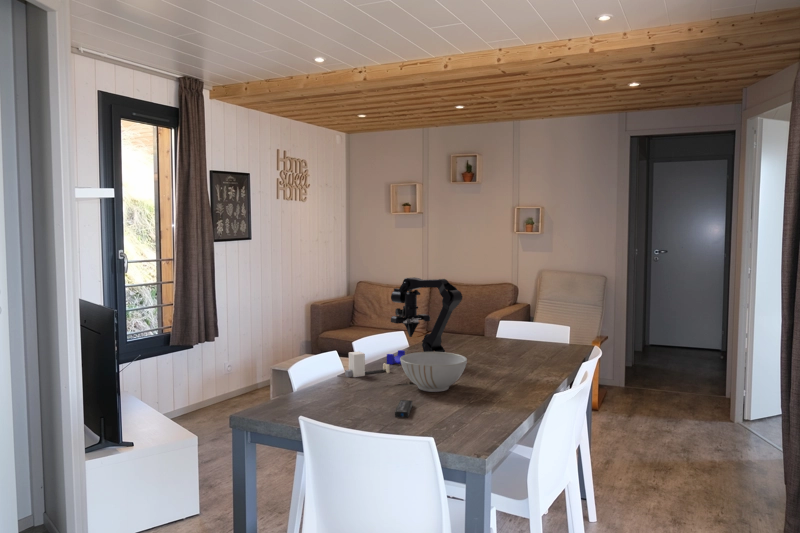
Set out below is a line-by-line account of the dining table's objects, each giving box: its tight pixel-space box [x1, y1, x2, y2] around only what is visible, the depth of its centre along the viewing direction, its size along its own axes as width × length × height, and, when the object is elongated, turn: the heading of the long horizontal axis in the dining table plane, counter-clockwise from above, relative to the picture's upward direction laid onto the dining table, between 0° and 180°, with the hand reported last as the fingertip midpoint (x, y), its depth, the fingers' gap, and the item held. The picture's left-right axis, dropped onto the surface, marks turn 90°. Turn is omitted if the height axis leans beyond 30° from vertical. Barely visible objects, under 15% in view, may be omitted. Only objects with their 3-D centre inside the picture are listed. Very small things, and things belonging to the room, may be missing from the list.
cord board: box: [344, 362, 391, 378], centre depth 262 cm, size 20×10×5 cm, turn 119°
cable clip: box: [386, 349, 406, 365], centre depth 287 cm, size 12×4×6 cm, turn 151°
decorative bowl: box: [400, 351, 468, 393], centre depth 244 cm, size 27×27×12 cm
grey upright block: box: [348, 350, 366, 378], centre depth 259 cm, size 5×6×10 cm
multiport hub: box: [394, 399, 413, 419], centre depth 212 cm, size 4×14×2 cm, turn 173°
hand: (410, 336), depth 287 cm, fingers closed
